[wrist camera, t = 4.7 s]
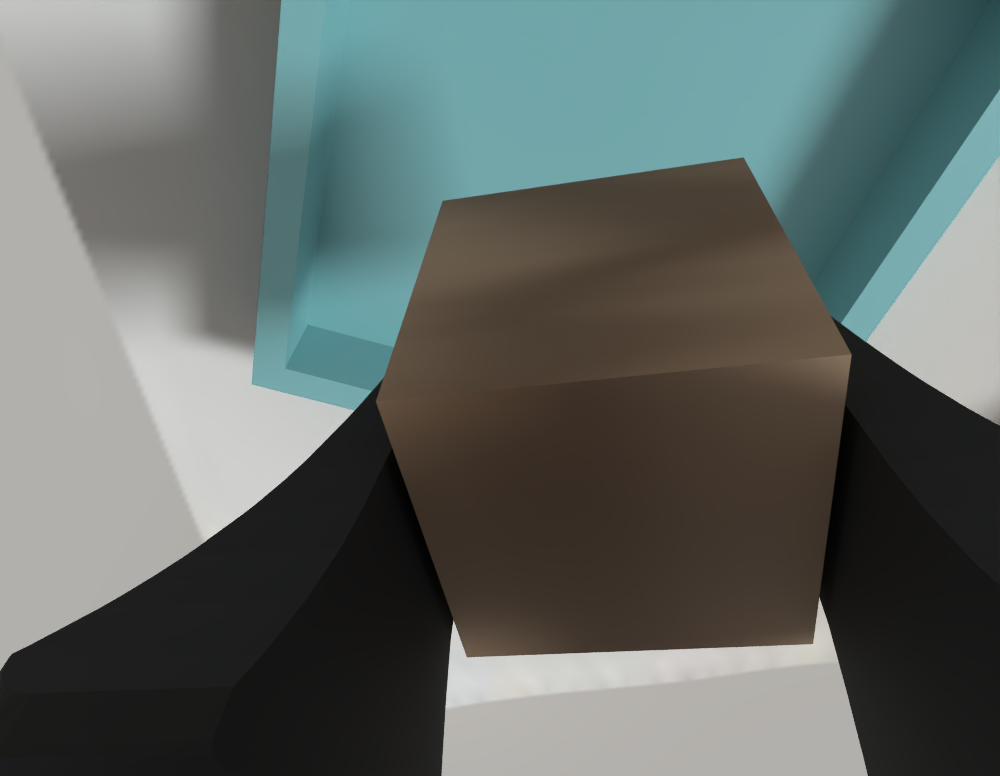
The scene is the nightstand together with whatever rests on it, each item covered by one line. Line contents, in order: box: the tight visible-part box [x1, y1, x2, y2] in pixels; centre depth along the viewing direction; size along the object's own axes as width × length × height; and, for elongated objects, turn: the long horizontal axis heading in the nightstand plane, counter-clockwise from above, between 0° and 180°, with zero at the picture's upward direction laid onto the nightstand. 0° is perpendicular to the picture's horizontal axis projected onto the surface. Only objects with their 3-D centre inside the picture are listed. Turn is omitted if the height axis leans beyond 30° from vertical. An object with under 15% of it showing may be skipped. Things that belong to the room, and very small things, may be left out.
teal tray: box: [252, 0, 1000, 410], centre depth 17 cm, size 14×14×2 cm
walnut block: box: [376, 157, 852, 657], centre depth 10 cm, size 4×4×5 cm
